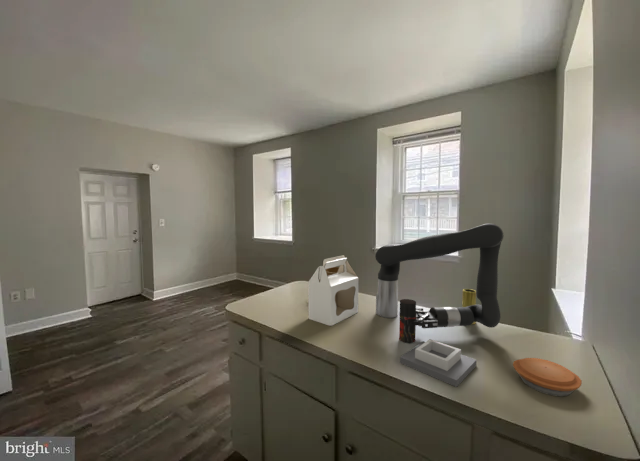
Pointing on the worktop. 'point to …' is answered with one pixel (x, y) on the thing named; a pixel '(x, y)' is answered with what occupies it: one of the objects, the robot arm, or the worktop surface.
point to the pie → (547, 376)
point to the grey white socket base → (439, 361)
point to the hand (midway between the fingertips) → (403, 318)
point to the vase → (469, 298)
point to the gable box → (333, 292)
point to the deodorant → (406, 313)
